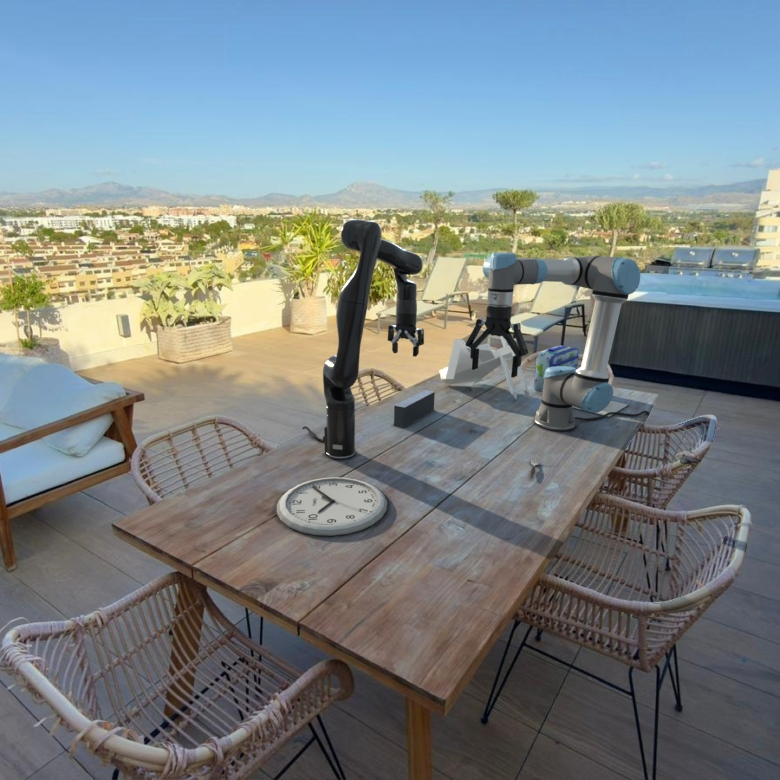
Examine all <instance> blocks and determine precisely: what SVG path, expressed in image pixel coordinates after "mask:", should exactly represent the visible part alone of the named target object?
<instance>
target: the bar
mask: <svg viewBox="0 0 780 780" xmlns="http://www.w3.org/2000/svg"><path fill="white" fill-rule="evenodd" d="M435 395H436V392H435V391H432V390H428V389H424V390H422V391H421V392H419V393H416V394H415V395H413V396H410V397H409V398H405V400H403V401H401V402H400V401H399V402H398V403H396V404H394V407H393V408H394V409H393V410H394V411H393V426H395V427H399V428H403V429H404V428H406V427H408V426H410V425H412V424H413V423H415V422H417V421H418V420H420V419H421V418H423V417H425V416H427V415H429V414H430V413H432V412H434V411H435V398H436V397H435Z"/></svg>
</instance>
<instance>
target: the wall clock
mask: <svg viewBox="0 0 780 780" xmlns="http://www.w3.org/2000/svg"><path fill="white" fill-rule="evenodd" d="M387 509H388V500H387V498H386V496H385V494H384V493H383V492H382V491H381V490H380V489H379V488H377V487H376V486H374V485H372V484H371V483H369V482H365V481H362V480H359V479H355V478H349V477H338V476H337V477H335V476H333V477H332V476H331V477H322V478H317V479H312V480H307V481H305V482H302V483H299V484H297V485H295V486H293V487H292V488H290V489H288V490H287V491H286V492H285V493H284V494H283V495H281V496H280V498H279V499H278V502H277V503H276V515H277V517H278V518H279V520H280V521H281V522H282V523H283V524H285V525H286V526H287V527H288V528H290V529H293V530H295V531H297V532H299V533H303V534H308V535H312V536H327V537H328V536H329V537H331V536H332V537H333V536H342V535H350V534H352V533H356V532H361V531H363V530H366V529H368V528H369V527H372V526H373V525H375V524H376V523H378V522H379V521H380V520H381V519H382V518H383V517H384V516H385V514H386V512H387Z"/></svg>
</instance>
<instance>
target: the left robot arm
mask: <svg viewBox="0 0 780 780" xmlns="http://www.w3.org/2000/svg"><path fill="white" fill-rule="evenodd" d="M380 225H381V224H379V223H378V222H376V221H371V220H364V219H355V218H354V219H349V220H347V221H345V222H344V223H343V225H342V228H341V231H340V239H341V242H342V244H343V246H344V247H345V248H347V250H350V251H353V252H357V253H359V258H358V261H357V265H356V268H355V270H354V272H353V273H352V274H351V275H350V277H349V278H348V279H347V281H346V282H345V284H343V286H342V288H341V289H340V291H339V293H338V299H337V305H336V312H335V320H336V330H337V338H338V342H337V343H338V345H337V353H336V355H335V354H334V355H332V356H330V357H329V358H327V360H325V362H324V364H323V367H322V383H323V395H324V399H325V404H326V405H325V406H326V407H325V408H326V411H325V413H326V426H324V432H323V433H324V435H323V436H322V439H321V438H319V437H318V436H315V434H314V432H313V431H312V430H311V429H310V428H309V427H308V426H305V425H304V426H302V430H305V429H306V430H307V431H308V433H309V434H310V435H311V436H312V438H313V439H315V440H316V441H319V442H321V443H324V454H325V455H327V457H329V458H330V459H332V460H333V459H334V460H348V459H351V458H353V457H354V456H355V455H356V406H355V405H356V401H355V400H356V399H355V396H354V394H353V391H352V387H353V386H354V385H355V384H356V382H357V380H358V376H359V371H360V357H361V346H362V340H363V334H364V328H365V321H366V317H367V312H368V306H369V297H370V292H371V286H372V281H373V276H374V272H375V267H376V263H377V261H380V262H382V263H384V264H385V265H387V266H389V267H390V268H392V272H393V275H394V279H395V284H396V302H395V303H396V304H395V324H389V325H388V327H387V329H388V330H387V341H388V342H390V343H391V350H392V353H393V354H397V353H398V352H399V343H398V342H399V340H400V339H405V340H409V342H410V343H411V344H412V345H413V346H412V357H417V356H418V355H419V353H420V346H424V344H425V329H424V328H417V326H416V325H417V316H418V315H417V314H418V302H417V301H418V300H417V295H418V294H417V293H418V292H417V291H418V286H417V283H416V282H414V281H412V280H409V279H408V277H407V276H408V275H409V276H417V275H419V274H420V273H421V272H422V270H423V268H424V267H423V266H424V263H423V259H422V258H421V256H420V255H419V254H417V253H415V252H411V251H409V250H406V249H403V248H401V247H400V246H399V245H397V244H395V243H393V242H391V241H389V240H386V239H383V238H382V227H381V226H380ZM395 331H396V334H395Z"/></svg>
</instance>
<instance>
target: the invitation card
mask: <svg viewBox="0 0 780 780" xmlns="http://www.w3.org/2000/svg"><path fill="white" fill-rule="evenodd" d="M628 406H629V404H627V403H623V402H618V401H614V400H611V401H610V403H609V404H608V406H607V407H605V408H604V409H603V410H602V411H600V412H597V413H595V414H596V415H600V416H603V415H605V414H606V413H609V412H620V411H621V410H623V409H624V408H626V407H628ZM573 409H575V410H581V411H583V410H582V409H580V408H577V407H575V406H573ZM613 415H614V414H610V415H607V416H606V417H608V418H609V417H611V416H613Z"/></svg>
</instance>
